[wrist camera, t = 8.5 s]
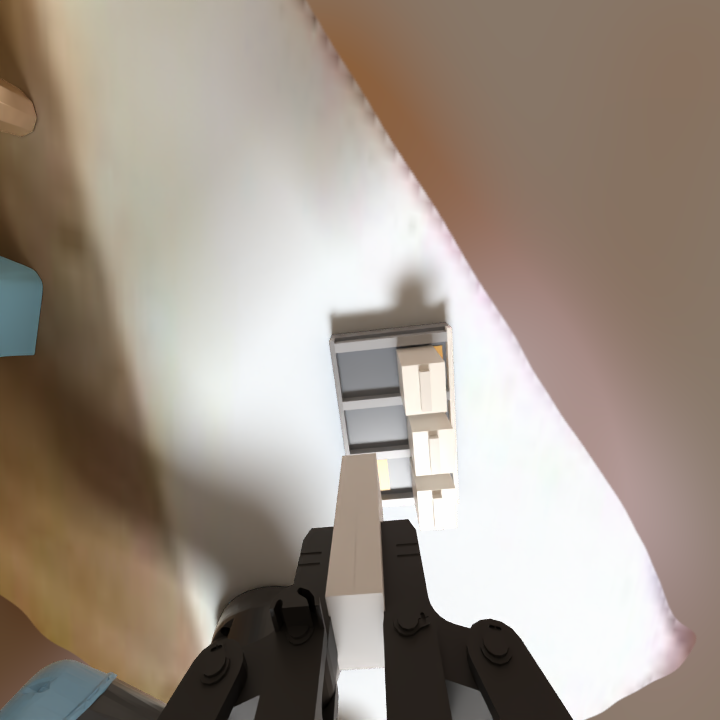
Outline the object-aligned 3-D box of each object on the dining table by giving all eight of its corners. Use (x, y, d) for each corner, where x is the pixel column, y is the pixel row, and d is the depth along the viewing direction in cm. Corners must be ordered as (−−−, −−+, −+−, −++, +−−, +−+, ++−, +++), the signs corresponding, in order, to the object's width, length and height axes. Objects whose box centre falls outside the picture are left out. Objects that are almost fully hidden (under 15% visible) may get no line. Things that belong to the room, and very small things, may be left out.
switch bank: (354, 496, 35) (353, 512, 32) (331, 334, 30) (328, 340, 28) (453, 487, 34) (458, 503, 32) (445, 322, 29) (451, 327, 27)
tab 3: (412, 491, 32) (421, 535, 27) (409, 457, 31) (417, 495, 26) (444, 489, 32) (458, 532, 27) (442, 454, 31) (457, 492, 26)
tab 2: (408, 443, 31) (416, 480, 26) (405, 405, 30) (413, 435, 25) (441, 440, 31) (456, 476, 26) (439, 402, 30) (454, 431, 24)
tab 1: (399, 391, 29) (406, 418, 24) (396, 348, 28) (402, 368, 23) (434, 387, 29) (448, 414, 24) (432, 345, 28) (446, 364, 23)
